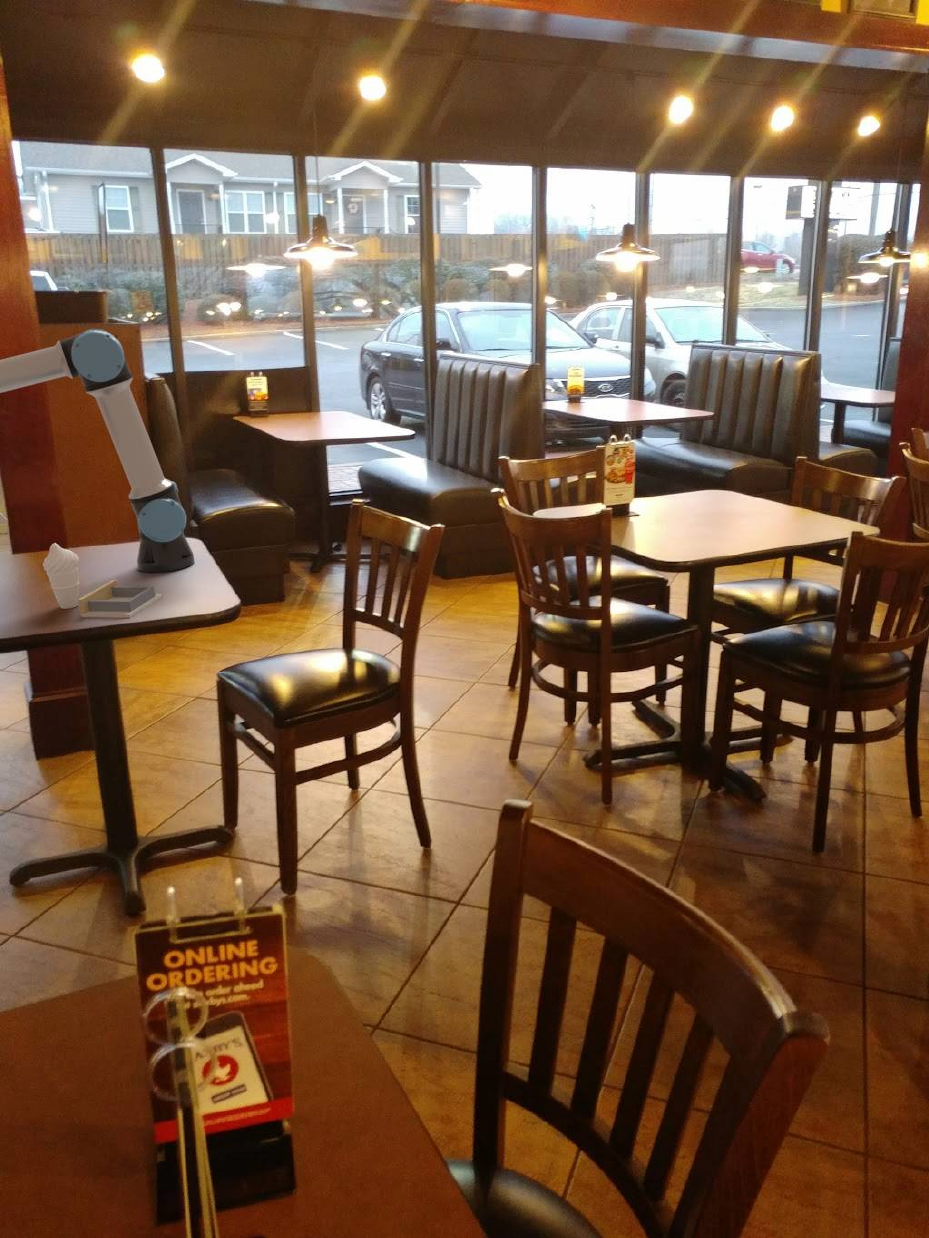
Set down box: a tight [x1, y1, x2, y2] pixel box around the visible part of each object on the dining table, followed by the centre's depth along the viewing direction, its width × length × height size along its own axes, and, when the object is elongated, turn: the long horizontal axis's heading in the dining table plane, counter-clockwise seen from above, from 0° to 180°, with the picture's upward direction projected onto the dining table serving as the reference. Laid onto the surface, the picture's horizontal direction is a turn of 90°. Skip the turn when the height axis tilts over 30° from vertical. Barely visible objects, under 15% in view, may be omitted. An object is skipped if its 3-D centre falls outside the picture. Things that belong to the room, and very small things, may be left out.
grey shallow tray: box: [78, 579, 163, 619], centre depth 246 cm, size 13×16×4 cm
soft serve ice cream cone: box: [42, 542, 81, 610], centre depth 247 cm, size 8×8×16 cm
